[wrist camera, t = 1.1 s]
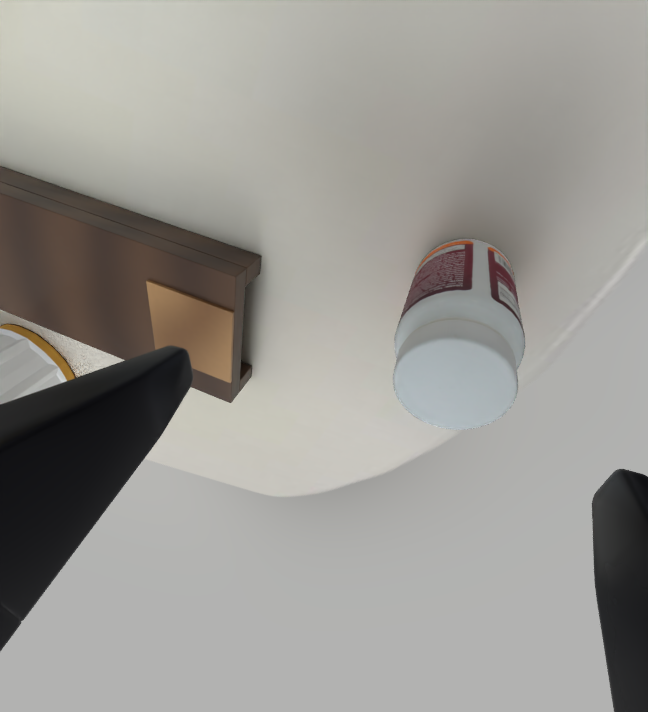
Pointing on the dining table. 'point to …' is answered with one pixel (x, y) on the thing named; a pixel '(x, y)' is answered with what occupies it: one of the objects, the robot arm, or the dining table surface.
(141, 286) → the shelf
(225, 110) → the dining table surface
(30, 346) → the cup
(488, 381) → the pill bottle
